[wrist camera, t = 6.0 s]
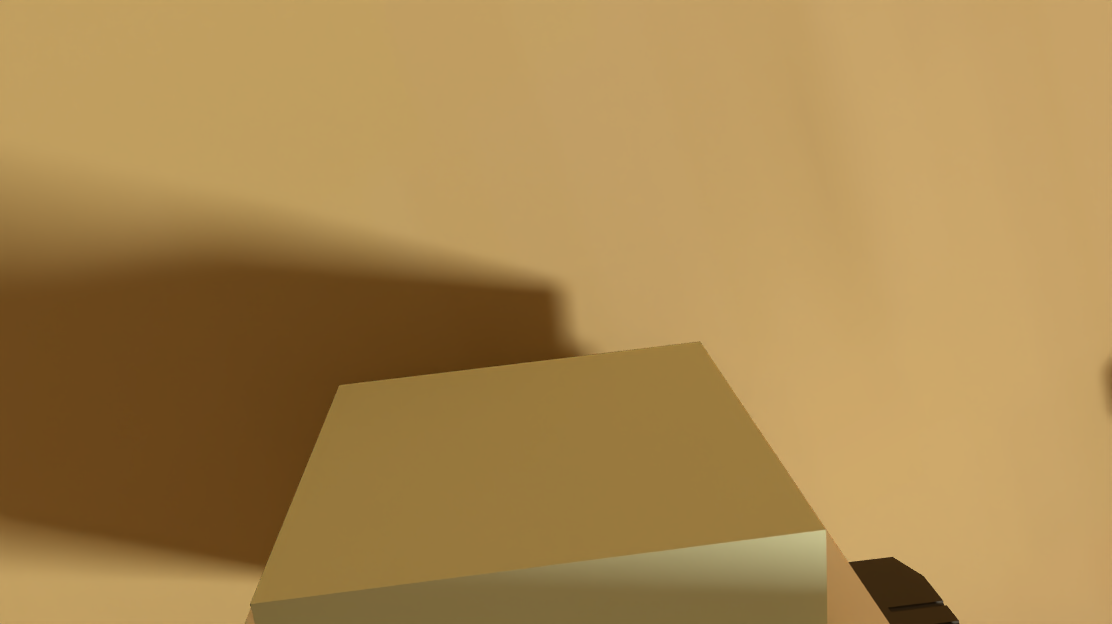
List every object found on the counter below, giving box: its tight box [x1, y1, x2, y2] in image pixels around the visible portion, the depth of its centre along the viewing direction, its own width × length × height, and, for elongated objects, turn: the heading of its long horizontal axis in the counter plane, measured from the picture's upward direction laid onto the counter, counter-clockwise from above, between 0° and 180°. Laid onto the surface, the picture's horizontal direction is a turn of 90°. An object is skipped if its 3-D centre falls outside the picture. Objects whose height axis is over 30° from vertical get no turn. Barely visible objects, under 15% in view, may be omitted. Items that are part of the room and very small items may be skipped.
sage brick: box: [250, 342, 827, 624], centre depth 13 cm, size 5×6×6 cm
